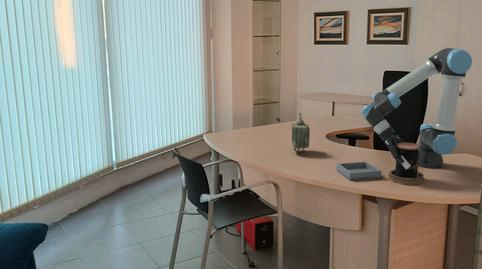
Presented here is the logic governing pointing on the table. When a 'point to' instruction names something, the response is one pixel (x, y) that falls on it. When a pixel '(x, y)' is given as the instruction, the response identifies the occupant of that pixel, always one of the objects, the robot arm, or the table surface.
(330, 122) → the table surface
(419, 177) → the ring guard
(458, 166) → the table surface
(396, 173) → the coffee jar
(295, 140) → the green lantern
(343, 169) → the tray
